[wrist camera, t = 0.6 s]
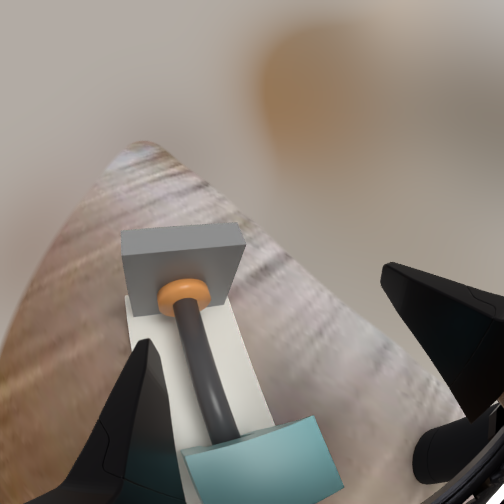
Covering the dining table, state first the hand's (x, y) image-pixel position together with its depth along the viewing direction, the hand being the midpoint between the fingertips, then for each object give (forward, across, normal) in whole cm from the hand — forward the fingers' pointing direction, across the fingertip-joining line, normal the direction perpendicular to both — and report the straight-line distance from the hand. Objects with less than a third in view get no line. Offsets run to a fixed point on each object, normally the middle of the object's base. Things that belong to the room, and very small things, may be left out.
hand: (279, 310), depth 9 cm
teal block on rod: (-2, +4, +11) cm, 12 cm away
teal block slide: (+3, +5, +11) cm, 12 cm away
